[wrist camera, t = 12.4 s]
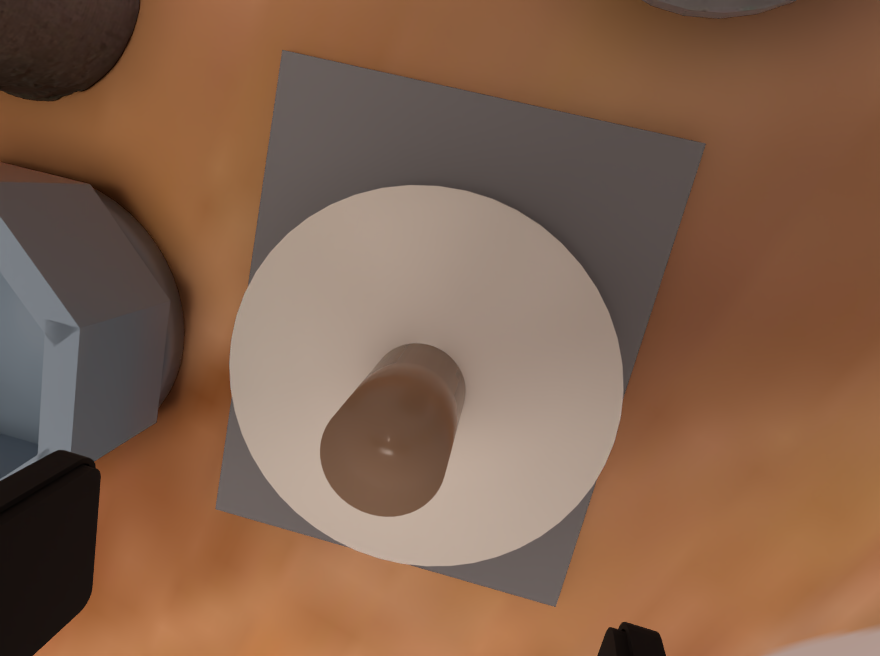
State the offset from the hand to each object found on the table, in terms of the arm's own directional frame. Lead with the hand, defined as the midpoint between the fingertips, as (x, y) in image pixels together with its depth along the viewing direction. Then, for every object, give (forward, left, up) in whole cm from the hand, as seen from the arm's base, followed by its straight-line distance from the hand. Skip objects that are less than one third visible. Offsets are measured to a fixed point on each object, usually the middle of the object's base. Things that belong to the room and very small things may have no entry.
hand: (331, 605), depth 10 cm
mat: (+1, -1, -15) cm, 15 cm away
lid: (+1, 0, -14) cm, 14 cm away
